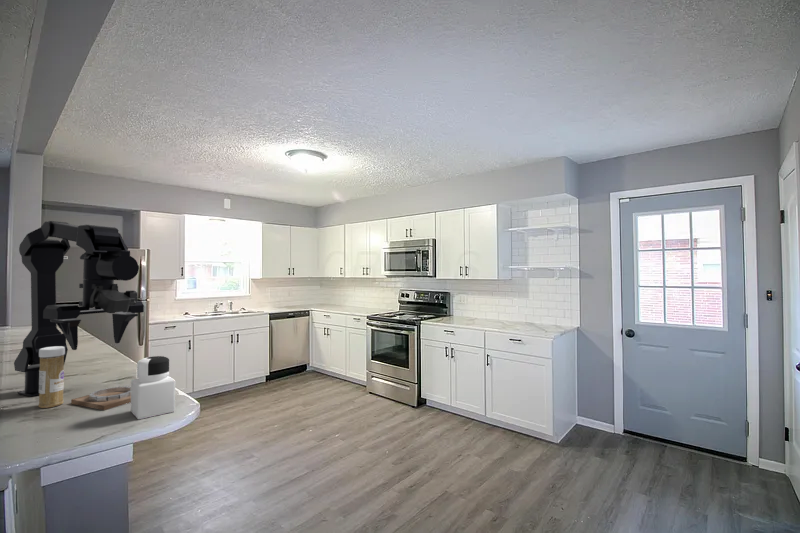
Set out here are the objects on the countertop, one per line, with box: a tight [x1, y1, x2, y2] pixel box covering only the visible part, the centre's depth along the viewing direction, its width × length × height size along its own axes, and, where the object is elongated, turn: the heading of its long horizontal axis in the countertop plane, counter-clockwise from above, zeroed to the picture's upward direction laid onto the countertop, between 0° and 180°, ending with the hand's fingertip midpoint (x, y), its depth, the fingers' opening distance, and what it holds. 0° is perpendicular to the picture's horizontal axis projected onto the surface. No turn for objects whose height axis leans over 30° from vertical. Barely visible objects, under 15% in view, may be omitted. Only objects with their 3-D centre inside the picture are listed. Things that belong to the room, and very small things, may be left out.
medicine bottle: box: [130, 355, 176, 420], centre depth 88 cm, size 7×7×12 cm
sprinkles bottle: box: [37, 346, 65, 409], centre depth 92 cm, size 5×5×14 cm
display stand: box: [70, 385, 131, 411], centre depth 96 cm, size 12×11×2 cm
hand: (96, 346), depth 92 cm, fingers open, 9 cm apart
